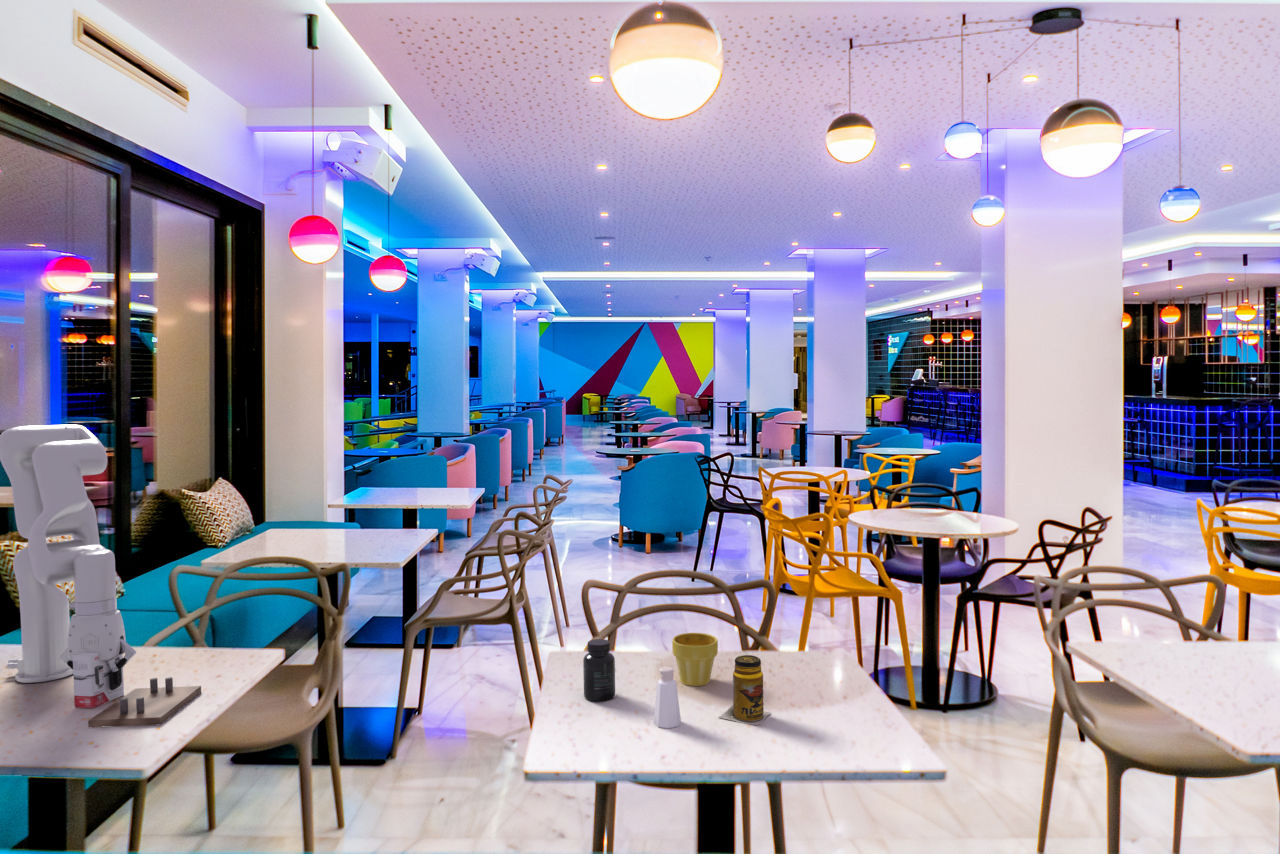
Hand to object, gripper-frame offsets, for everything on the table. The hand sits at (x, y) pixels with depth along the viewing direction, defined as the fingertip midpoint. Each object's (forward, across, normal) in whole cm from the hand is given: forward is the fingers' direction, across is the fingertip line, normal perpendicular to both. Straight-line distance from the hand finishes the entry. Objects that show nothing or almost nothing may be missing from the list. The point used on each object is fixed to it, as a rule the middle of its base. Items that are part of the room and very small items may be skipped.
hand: (99, 687), depth 180 cm
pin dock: (+3, +13, -6) cm, 15 cm away
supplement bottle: (+3, +109, -10) cm, 109 cm away
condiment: (+3, +138, -24) cm, 140 cm away
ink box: (+3, 0, 0) cm, 3 cm away
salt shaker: (+3, +122, -26) cm, 125 cm away
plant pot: (+3, +131, -3) cm, 131 cm away
